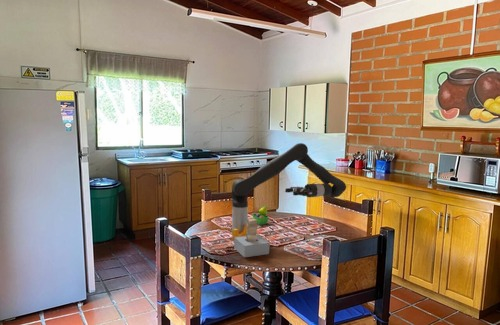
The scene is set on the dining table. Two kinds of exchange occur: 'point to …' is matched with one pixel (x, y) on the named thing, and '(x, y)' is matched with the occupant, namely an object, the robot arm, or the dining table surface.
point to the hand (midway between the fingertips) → (289, 191)
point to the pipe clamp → (236, 233)
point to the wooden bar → (251, 230)
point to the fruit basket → (261, 216)
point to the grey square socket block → (251, 246)
